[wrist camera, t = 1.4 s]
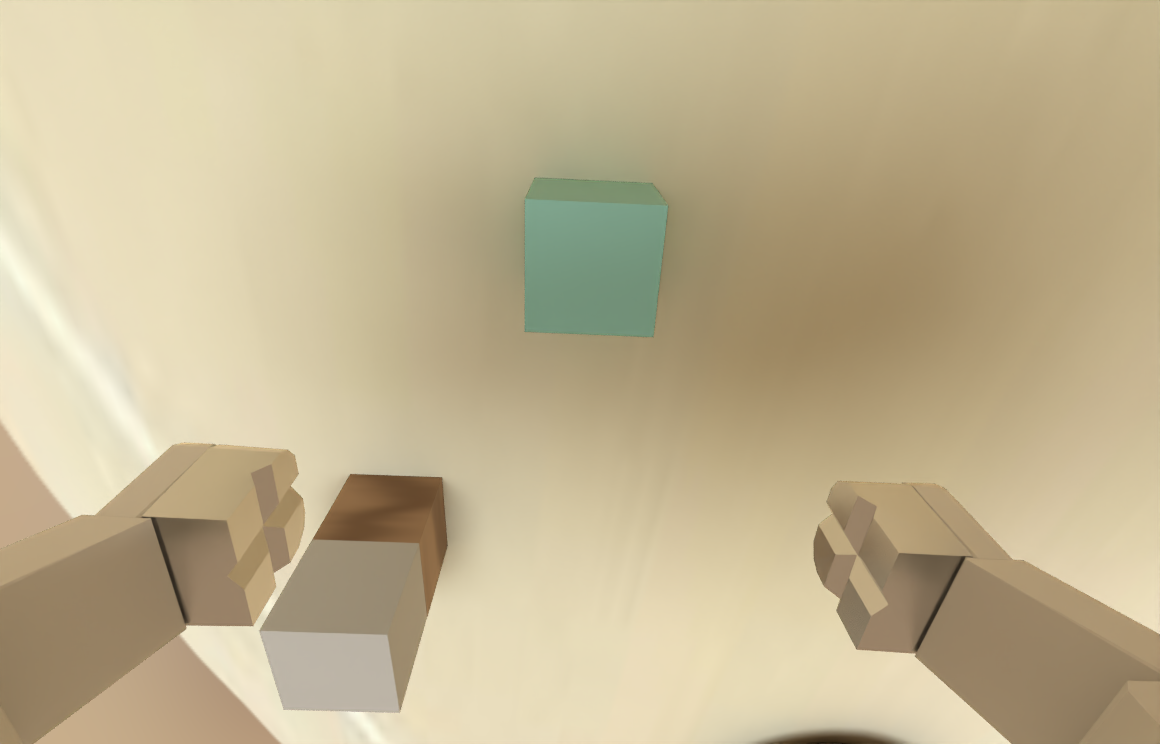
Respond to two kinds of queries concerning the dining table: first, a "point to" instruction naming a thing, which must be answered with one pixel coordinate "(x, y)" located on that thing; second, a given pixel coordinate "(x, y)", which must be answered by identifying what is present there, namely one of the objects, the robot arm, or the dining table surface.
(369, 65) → the dining table surface
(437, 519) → the walnut base block
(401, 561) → the grey mid block
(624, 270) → the teal cube
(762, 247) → the dining table surface
